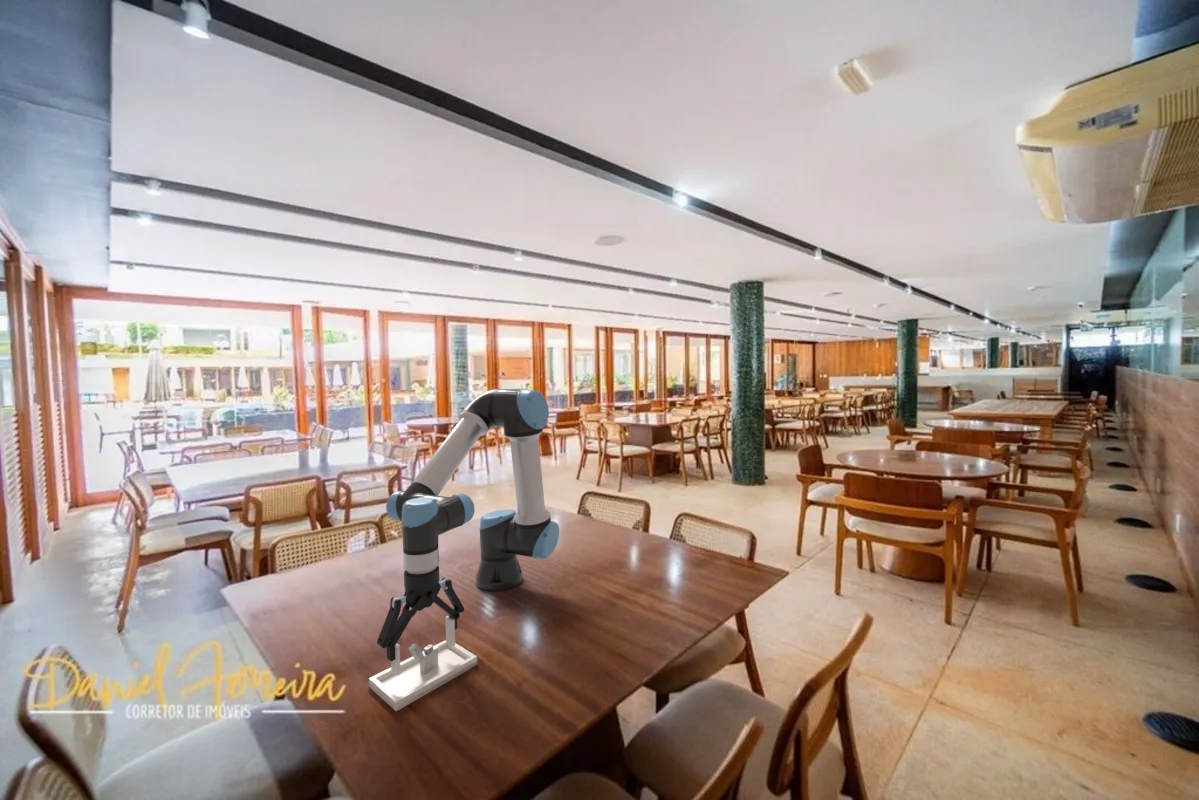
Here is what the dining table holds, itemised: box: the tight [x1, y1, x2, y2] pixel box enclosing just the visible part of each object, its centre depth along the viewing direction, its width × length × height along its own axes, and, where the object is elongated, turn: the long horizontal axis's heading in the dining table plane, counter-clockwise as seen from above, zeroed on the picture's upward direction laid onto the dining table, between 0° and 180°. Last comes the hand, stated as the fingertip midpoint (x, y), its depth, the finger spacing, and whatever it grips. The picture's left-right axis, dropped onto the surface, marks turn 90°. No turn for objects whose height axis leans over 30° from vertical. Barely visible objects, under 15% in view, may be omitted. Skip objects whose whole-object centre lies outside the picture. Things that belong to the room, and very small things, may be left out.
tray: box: [368, 639, 478, 712], centre depth 109 cm, size 20×12×2 cm, turn 140°
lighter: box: [408, 643, 438, 675], centre depth 109 cm, size 7×2×8 cm, turn 153°
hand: (424, 657), depth 109 cm, fingers open, 13 cm apart
